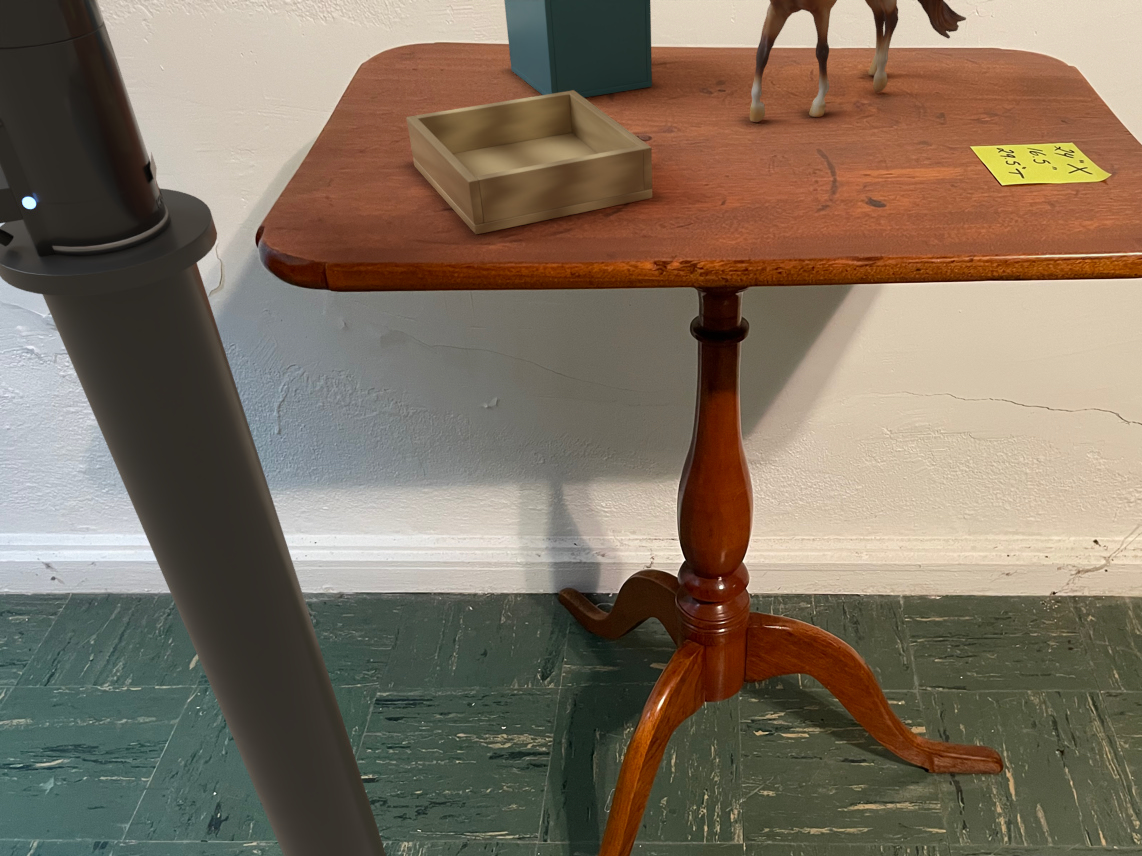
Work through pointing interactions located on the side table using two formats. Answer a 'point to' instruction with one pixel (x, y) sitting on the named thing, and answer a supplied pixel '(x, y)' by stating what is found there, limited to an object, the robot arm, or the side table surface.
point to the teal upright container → (580, 45)
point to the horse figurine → (819, 6)
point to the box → (529, 160)
